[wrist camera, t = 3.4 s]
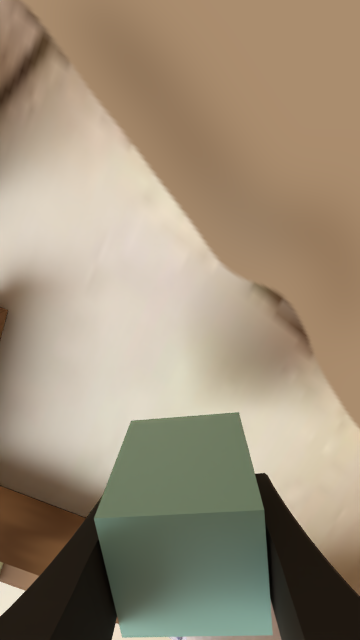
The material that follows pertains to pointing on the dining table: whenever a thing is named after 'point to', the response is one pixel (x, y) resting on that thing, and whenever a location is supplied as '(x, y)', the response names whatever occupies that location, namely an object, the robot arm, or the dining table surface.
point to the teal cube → (186, 531)
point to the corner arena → (30, 531)
